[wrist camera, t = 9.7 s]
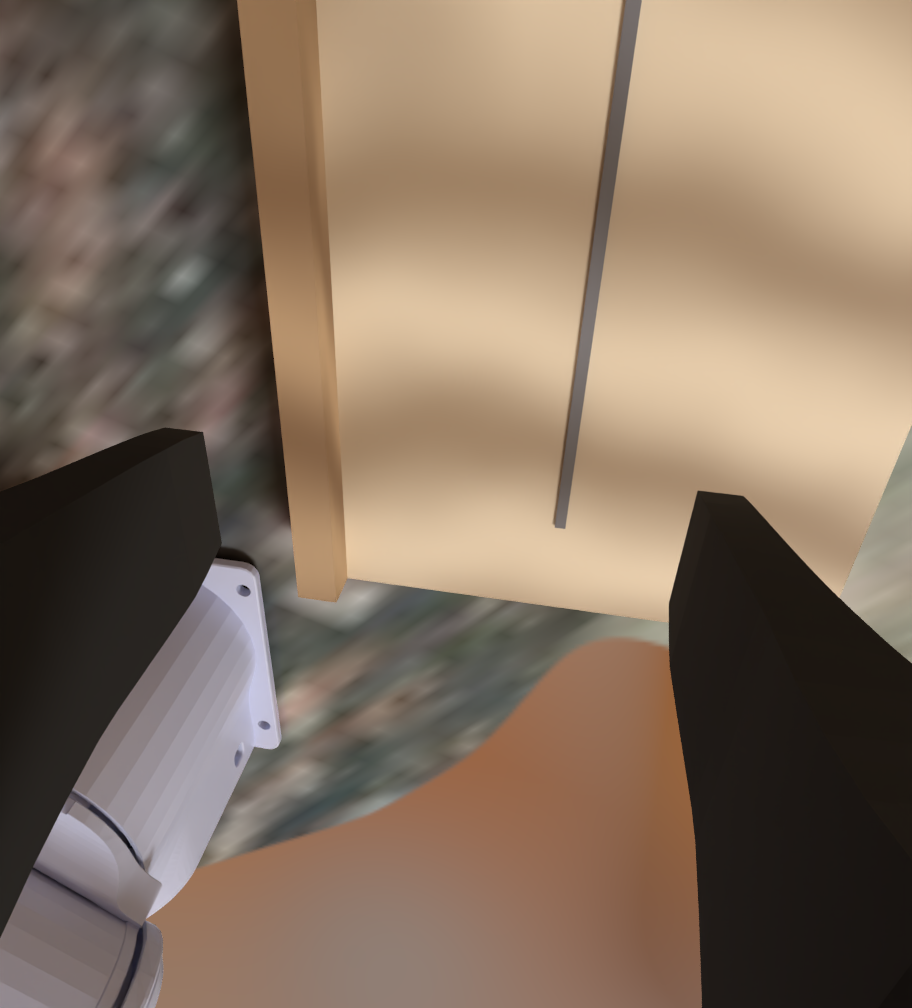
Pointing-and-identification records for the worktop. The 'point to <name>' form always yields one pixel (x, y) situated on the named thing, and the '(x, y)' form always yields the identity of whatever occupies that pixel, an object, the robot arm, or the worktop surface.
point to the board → (580, 282)
